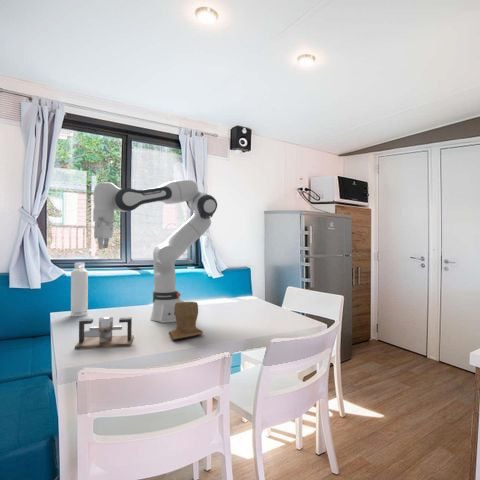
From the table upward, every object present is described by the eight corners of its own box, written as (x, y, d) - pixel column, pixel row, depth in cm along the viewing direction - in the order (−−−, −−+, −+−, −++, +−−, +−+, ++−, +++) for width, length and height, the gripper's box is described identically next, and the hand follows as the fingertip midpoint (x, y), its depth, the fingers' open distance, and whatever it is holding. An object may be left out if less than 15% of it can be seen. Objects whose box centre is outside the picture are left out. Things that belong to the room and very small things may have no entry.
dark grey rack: (133, 337, 139) (133, 315, 139) (130, 346, 128) (130, 321, 128) (82, 339, 135) (82, 316, 135) (74, 349, 124) (74, 323, 124)
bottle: (76, 317, 171) (76, 263, 171) (67, 315, 175) (68, 262, 175) (90, 314, 178) (91, 262, 178) (81, 312, 182) (82, 261, 182)
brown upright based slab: (192, 330, 151) (192, 297, 151) (206, 336, 142) (206, 301, 141) (161, 335, 141) (162, 301, 141) (174, 343, 132) (175, 306, 132)
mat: (107, 331, 147) (107, 330, 147) (103, 337, 138) (103, 336, 138) (85, 332, 145) (85, 330, 145) (80, 338, 136) (80, 337, 136)
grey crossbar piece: (122, 327, 135) (122, 315, 135) (120, 331, 130) (120, 319, 130) (91, 329, 133) (91, 316, 132) (88, 333, 127) (88, 320, 127)
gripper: (106, 216, 140) (105, 249, 140) (115, 219, 160) (115, 247, 160) (90, 216, 139) (89, 249, 139) (101, 219, 159) (101, 247, 159)
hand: (103, 248), depth 150 cm, fingers open, 8 cm apart
